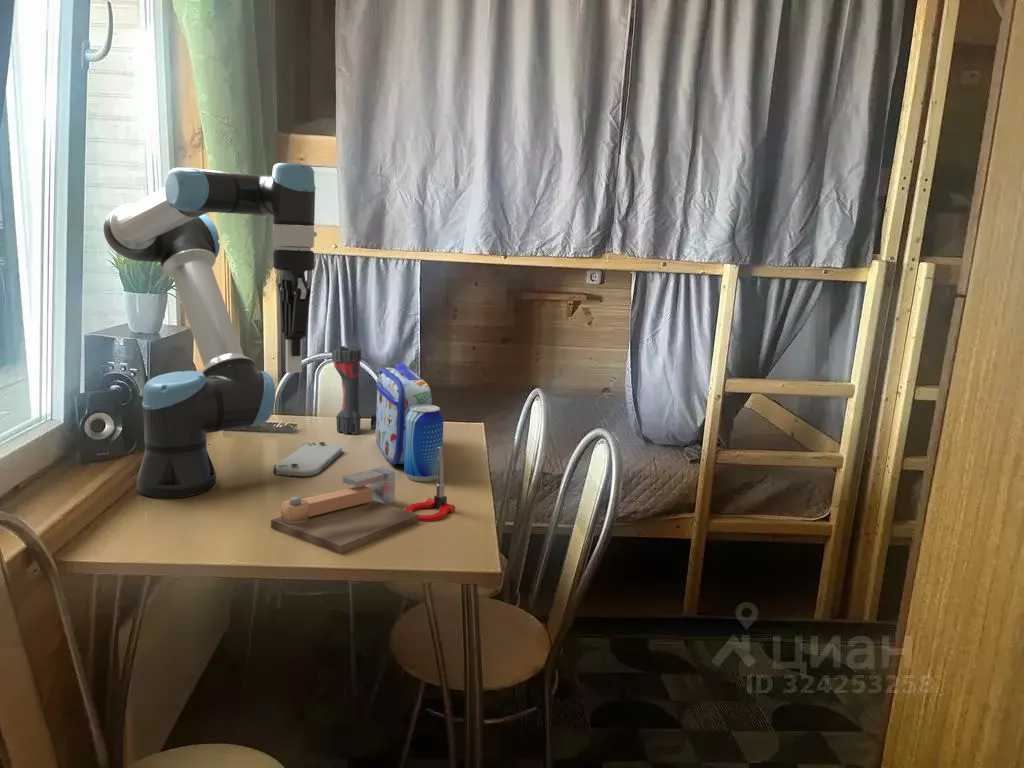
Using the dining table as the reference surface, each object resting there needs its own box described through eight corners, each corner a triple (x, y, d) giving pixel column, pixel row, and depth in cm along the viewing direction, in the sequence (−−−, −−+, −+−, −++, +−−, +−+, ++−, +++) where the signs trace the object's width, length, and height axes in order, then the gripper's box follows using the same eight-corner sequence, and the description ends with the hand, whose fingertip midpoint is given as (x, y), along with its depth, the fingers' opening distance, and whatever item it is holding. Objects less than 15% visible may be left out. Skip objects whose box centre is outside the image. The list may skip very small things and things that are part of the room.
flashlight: (333, 427, 217) (333, 344, 213) (361, 428, 218) (363, 345, 213) (329, 434, 209) (330, 349, 205) (359, 435, 210) (360, 350, 206)
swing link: (290, 523, 141) (290, 504, 140) (276, 516, 144) (276, 497, 143) (374, 502, 154) (375, 485, 153) (360, 495, 157) (360, 479, 157)
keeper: (355, 513, 153) (356, 481, 152) (342, 508, 155) (343, 476, 154) (394, 502, 161) (395, 471, 159) (381, 497, 163) (381, 466, 162)
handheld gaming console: (313, 468, 172) (269, 465, 173) (313, 480, 173) (269, 477, 174) (345, 441, 195) (306, 438, 196) (345, 452, 195) (306, 449, 196)
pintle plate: (271, 527, 144) (271, 517, 143) (351, 500, 160) (351, 491, 160) (340, 553, 134) (340, 543, 134) (418, 522, 150) (418, 512, 150)
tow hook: (427, 527, 149) (459, 512, 157) (426, 462, 147) (459, 450, 154) (395, 516, 154) (427, 502, 162) (394, 453, 151) (427, 442, 159)
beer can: (425, 469, 184) (427, 402, 181) (449, 478, 178) (451, 409, 175) (396, 475, 178) (398, 406, 175) (419, 485, 172) (421, 413, 169)
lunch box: (367, 441, 204) (368, 358, 200) (406, 439, 208) (408, 357, 204) (391, 473, 179) (393, 378, 175) (435, 470, 183) (438, 377, 179)
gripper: (324, 251, 145) (323, 377, 150) (303, 247, 156) (302, 365, 160) (283, 249, 141) (283, 379, 146) (264, 246, 152) (265, 367, 156)
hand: (293, 371), depth 153 cm, fingers closed
